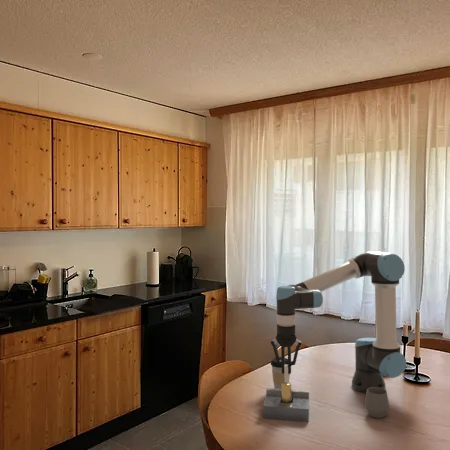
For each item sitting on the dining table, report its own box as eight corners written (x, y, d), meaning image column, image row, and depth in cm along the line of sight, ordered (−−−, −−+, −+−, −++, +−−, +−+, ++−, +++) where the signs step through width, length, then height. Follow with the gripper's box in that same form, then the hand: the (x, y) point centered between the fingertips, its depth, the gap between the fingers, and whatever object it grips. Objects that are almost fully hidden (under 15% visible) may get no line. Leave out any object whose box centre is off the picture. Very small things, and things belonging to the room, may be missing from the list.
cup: (386, 422, 175) (386, 397, 175) (362, 417, 180) (361, 392, 179) (391, 413, 183) (391, 389, 183) (368, 408, 188) (368, 384, 187)
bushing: (291, 411, 186) (291, 382, 186) (291, 415, 182) (290, 385, 182) (282, 410, 187) (281, 381, 186) (281, 414, 183) (280, 385, 182)
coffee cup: (290, 397, 200) (290, 363, 200) (269, 395, 202) (269, 362, 202) (291, 389, 210) (291, 357, 209) (271, 387, 211) (271, 356, 211)
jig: (309, 407, 190) (309, 390, 189) (308, 421, 176) (308, 404, 176) (266, 404, 193) (266, 387, 193) (263, 418, 179) (262, 400, 179)
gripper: (302, 322, 186) (302, 379, 187) (271, 321, 189) (271, 377, 189) (301, 327, 179) (302, 385, 179) (269, 325, 182) (269, 383, 182)
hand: (286, 381), depth 184 cm, fingers closed
